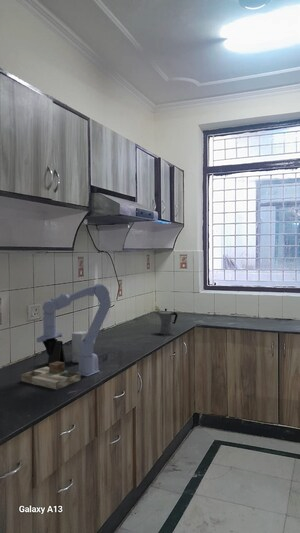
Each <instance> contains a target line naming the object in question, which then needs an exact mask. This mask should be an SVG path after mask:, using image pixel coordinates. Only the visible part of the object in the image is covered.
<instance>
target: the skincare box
mask: <svg viewBox="0 0 300 533" xmlns="http://www.w3.org/2000/svg"><path fill="white" fill-rule="evenodd" d="M87 333H88V331H86V330H85V331H84V330H83V331H82V330H80V331H75V332H72V333H71V352H72V355H71V356H72V357H71V358H72V359H71V361H72V363H78V364H79V354H80V349H79V344H80V342H81V341H82V340H83V339H84V338H85V336H86V335H87Z"/></svg>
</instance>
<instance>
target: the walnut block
mask: <svg viewBox="0 0 300 533" xmlns="http://www.w3.org/2000/svg"><path fill="white" fill-rule="evenodd" d="M48 367H49V372H50V373H55V374H58V373H61V372H64V371H66V368H65V367H66V366H65V362H64V363H63V362H58V361H56V362H53V363H50V364H49V365H48Z"/></svg>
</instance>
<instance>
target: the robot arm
mask: <svg viewBox="0 0 300 533" xmlns="http://www.w3.org/2000/svg"><path fill="white" fill-rule="evenodd" d="M87 296H89V297H94V296H95V297H96V298H97V300H98V303H99V306H98V308H97V311H96V313H95V315H94V318H93V320H92V322H91V324H90V326H89V329H88V331H87V332H88V333H87V335H86V336H85V338H84V339H83V340H82V341H81V342H80V344H79V349H80V354H79V363H78V371H77V372H76V373H80V375H81V376H83V377H91V376H92V375H94V374H97V373H99V372H100V370H99V357H98V355H97V354H96V353H94V346H95V343H96V340H97V339H96V338H97V337H98V334H99V332H100V330H101V329H102V328H101V327H102V326H103V323H104V321H105V319H106V317H107V314H108V312H109V310H110V308H111V305H112V304H111V297H110V292H109V289H108V288H107V286H105V285H104V284H102V283H96V284H93V285H90V286H87V287H85V288H82V289H79V290H77V291H75V292H74V293H73V292H72V293H71V294H67V293H62V294H60V295H59V296H57V297H55V298H53V297H52V298H50V300H46V301H45V302H44V303H43V306H42V310H43V312H42V313H43V317H42V323H43V327H42V328H43V334H42V335H41V336H38V337H36V343H39V344H40V343H42V344H43V346H44V348H45V351H46V354H47V355H48V356H49V355H53V350H54V347H55V344H56V343H57V341H58V339H57V338H63V333H62V332H57V329H56V328H57V325H56V322H57V321H56V320H57V318H56V311H59V310H61V309H63V308H66V307H68V306H71V303H72V302H73V301H76V300H78V299H81V298H84V297H87Z"/></svg>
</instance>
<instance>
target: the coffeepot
mask: <svg viewBox="0 0 300 533" xmlns="http://www.w3.org/2000/svg"><path fill="white" fill-rule="evenodd" d="M156 314H158V317H159V318H160V322H161V325H160V331H159V333H160V334H159V335H166V336H167V335H172V334H173V329H172V325H171V322H172V319H173V318H172V317H173V316H174V320H173V322H172V324H176V322H177V320H178V316H179V315H178V313H177V312H176V311H172V312H171V311H168V309H167V308H164V311H159V312H157V313H156Z"/></svg>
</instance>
